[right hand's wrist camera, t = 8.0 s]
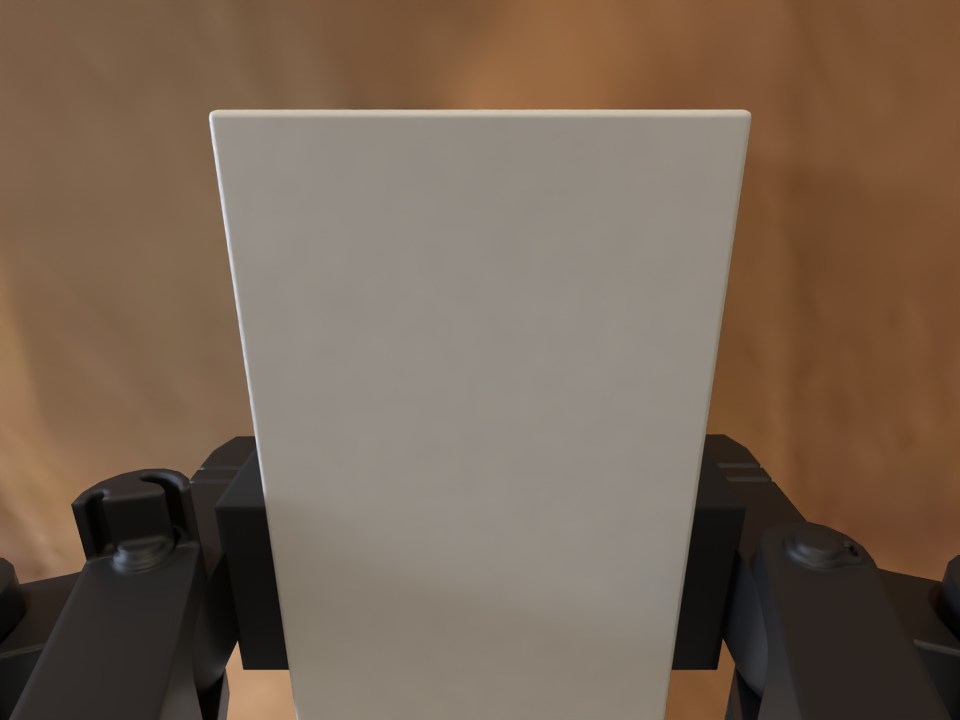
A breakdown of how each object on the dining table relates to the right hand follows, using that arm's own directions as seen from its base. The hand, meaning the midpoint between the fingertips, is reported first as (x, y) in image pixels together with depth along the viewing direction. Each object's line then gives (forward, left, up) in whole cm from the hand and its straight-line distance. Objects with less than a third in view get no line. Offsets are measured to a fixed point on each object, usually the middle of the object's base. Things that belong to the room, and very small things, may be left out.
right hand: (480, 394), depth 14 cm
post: (+3, -24, -1) cm, 24 cm away
